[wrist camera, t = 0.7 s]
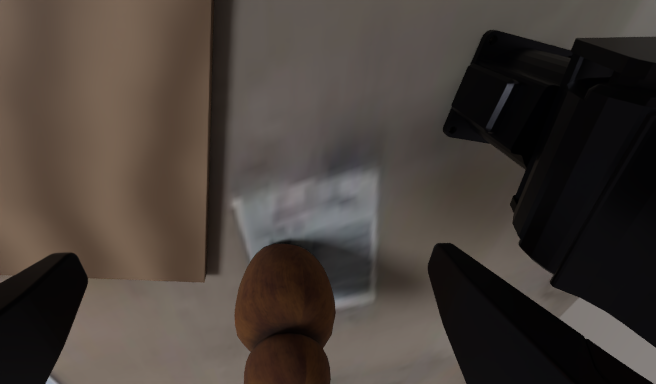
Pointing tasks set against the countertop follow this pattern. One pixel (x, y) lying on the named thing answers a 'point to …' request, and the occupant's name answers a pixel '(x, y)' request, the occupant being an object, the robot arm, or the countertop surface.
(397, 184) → the countertop surface
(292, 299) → the wooden figurine
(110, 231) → the light brown wooden board
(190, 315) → the countertop surface
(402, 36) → the countertop surface
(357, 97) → the countertop surface
